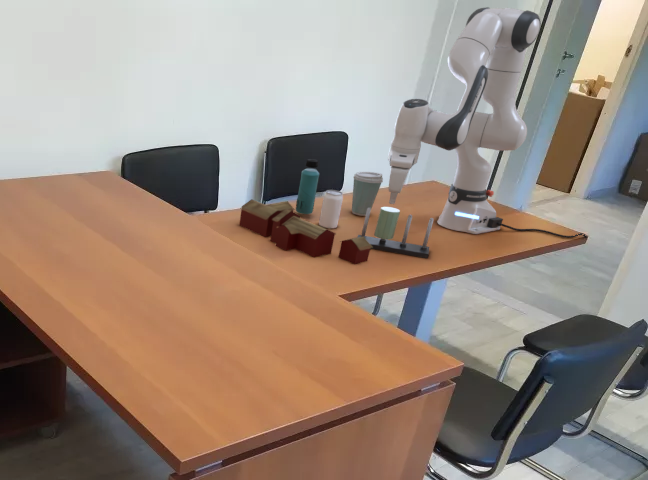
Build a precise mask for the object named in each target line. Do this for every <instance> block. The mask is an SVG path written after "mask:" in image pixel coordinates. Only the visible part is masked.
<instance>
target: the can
mask: <svg viewBox="0 0 648 480" xmlns="http://www.w3.org/2000/svg"><path fill="white" fill-rule="evenodd" d="M343 200H344V195H343V192H342V191H340V190H336V189H327V190H325V194H323V199H322V204H321V209H320V214H319V219H318V226H320V227H323V228H325V229H327V230H331V229H336V228H337V227H338V225H339V219H340V215H341V210H342V205H343Z"/></svg>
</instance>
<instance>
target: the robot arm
mask: <svg viewBox="0 0 648 480" xmlns="http://www.w3.org/2000/svg"><path fill="white" fill-rule="evenodd" d="M541 22H542V21H541V19H540V16H539V14H538V13H536V12H534V11H531V10H522V9H518V8H512V7H489V6H487V7H486V6H485V7H479V8H477V9H475V10H474V11H473V12H472V13H471V14H470V15H469V16H468V18H467V21H466V23H465V26H464V28H463V30H461V32H460V34H459V36H458V38H456V40H455V42H454V44H453V45H452V47H451V49H450V51H449V53H448V56H447V66H448V69H449V71H450V72H451V74H452V75H453V76H454V77H455V79H457V80H458V81H460V82H461V83H462V84H464V85H465V90H464V92H463V94H462V97H461V100H460V101H459V104H458V107H457V110H456V111H454V112H452V113H447V112H443V111H440V110H439V111H438V110H435V109H433V108H431V107H430V104H429V102H428V101H427V100H426V99H423V98H410V99H407V100H405V101H403V102H402V104H401V106H400V107H399V111H398V113H397V117H396V120H395V124H394V128H393V138H392V140H391V142H390V145H389V149H388V150H389V151H388V155H387V161H388V162H389V166H390V170H389V171H390V172H389V181H388V192H389V193H390V195H389V201H388V203H389V205H395V204H396V201H397V197H398V194H401V192H402V190H403V188H404V186H405V185H404V184H405V182H406V180H407V177H408V174H409V171H410V170H411V169H412V168H413V166H414V165H416V164H417V163H418V159H419V156H420V151H421V147H422V143H424V144H427V145H432V146H435V147H438V148H440V149H443V150H445V151H453V150H454V151H455V154H456V167H455V173H454V177H453V181H452V183H451V184H450V187H449V190H448V197H447V198H446V202H445V204H444V206H443V209H442V210H441V211H442V212H441V213H440V214H439V217H438V219H437V221H436V223H437V224H438V225H439V226H441V227H442V228H446V229H448V230H452V231H458V232H463V233H468V234H473V235H478V234H484V233H489V232H494V231H500V230H501V227H503V228H506V229H510V230H513V231H517V232H540V233H544V234H548V235H552V236H555V237H558V238H559V237H560V238H566V239H573V238H576V237H579V236H582V237H584V238H585V239H588V236H587V235H586V234H585V233H583V232H579V233H580V234H579V233H577V234H578V235H579V236H578V235H577V234H574V235H575V236H573V235H565V234H560V233H556V232H553V231H549V230H545V229H540V228H517V227H514V226H511V225H507V224H505V223H503V221H504V218H502V217H499V216H497V211H496V209H495V208H494V207H493V206H492V204H491V203H489V201H488V200H487V198H488V197H490V198H492V197H493V196H494V194H495V191H493V190H491V189H488V190H487V185H488V182H489V179H490V176H491V173H492V167H491V166H492V165H491V164H490V163H489V162H488V160H487V159H485V158H484V157H482V156H481V154H479V149H480V148H482V149H487V150H495V151H501V152H502V151H503V152H505V151H515V150H517V149H519V148H520V147H521V146H522V145H523V144H524V142H525V141H526V139H527V136H528V126H527V123H526V122H525V121H524V120H523V118H521V116H520V114H519V113H518V110H517V106H516V95H517V94H516V93H517V89H518V84H519V81H520V77H521V74H522V71H523V67H524V63H525V59H526V53H527V49H528V48H530V47H531V45H532V44H534V43H535V41H536V40H537V38H538V37H539V33H540V31H541V24H542V23H541ZM481 99H482V100H484V101H485V102H486V103H487V104H489V105H490V106H491V107H492V113H488V112H487V113H486V112H479V111H477V108H478V106H479V103H480V101H481ZM582 234H584V235H582ZM585 235H586V236H585Z"/></svg>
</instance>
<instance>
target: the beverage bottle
mask: <svg viewBox="0 0 648 480" xmlns="http://www.w3.org/2000/svg"><path fill="white" fill-rule="evenodd" d="M318 166H319V161H318V160H317V159H313V158H312V159H311V158H309V159H307V160H306V162H305V167H307V168H305V169H303V170H302V171H301V176H300V180H299V187H298V192H297V193H298V194H297V197H296V203H295V212H296V213H297V214H301V215H311V214H313V212H314V208H315V201H316V196H317V189H318V183H319V177H320V172H319V171H318V170H317V169H316V168H319V167H318Z"/></svg>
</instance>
